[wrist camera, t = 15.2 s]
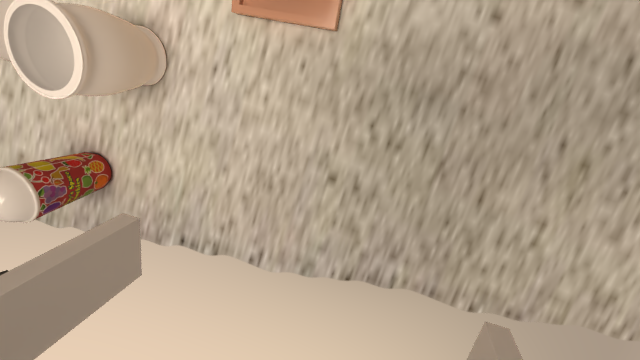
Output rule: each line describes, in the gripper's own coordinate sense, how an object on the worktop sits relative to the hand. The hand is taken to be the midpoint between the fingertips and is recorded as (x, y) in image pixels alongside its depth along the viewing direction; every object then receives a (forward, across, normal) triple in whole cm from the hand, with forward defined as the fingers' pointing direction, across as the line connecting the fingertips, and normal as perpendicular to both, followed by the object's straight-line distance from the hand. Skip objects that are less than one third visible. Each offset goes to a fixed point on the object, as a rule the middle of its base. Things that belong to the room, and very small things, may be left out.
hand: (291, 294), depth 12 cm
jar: (+35, +36, -4) cm, 50 cm away
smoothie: (+35, +46, +17) cm, 60 cm away
